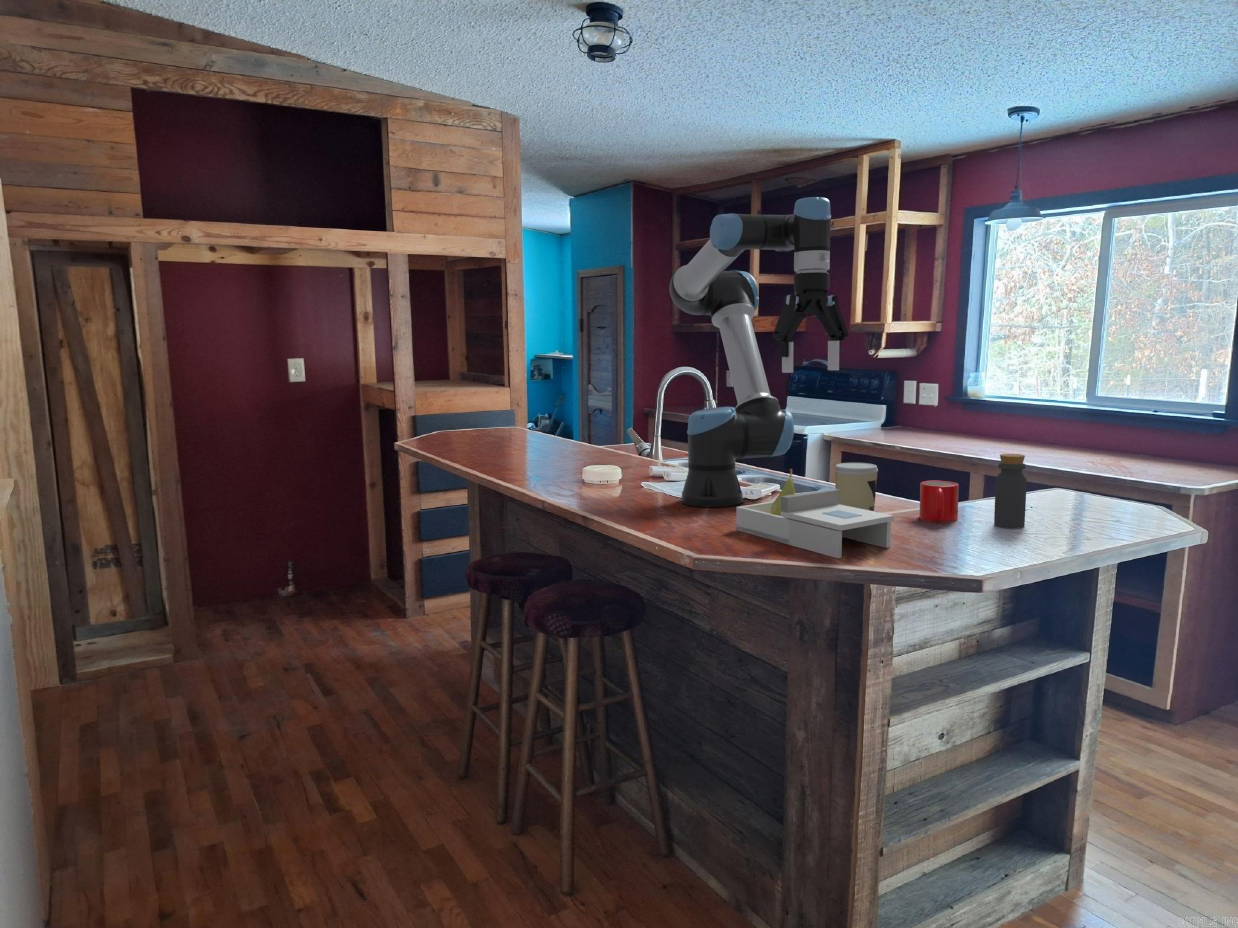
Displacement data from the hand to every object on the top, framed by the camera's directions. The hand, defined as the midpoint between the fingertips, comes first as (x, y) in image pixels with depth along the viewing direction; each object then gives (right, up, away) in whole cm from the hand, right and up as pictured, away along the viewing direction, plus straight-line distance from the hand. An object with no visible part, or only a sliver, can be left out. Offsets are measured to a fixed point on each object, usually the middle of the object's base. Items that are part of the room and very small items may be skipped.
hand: (810, 371), depth 184 cm
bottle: (+40, -33, -8) cm, 53 cm away
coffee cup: (+10, -33, +2) cm, 34 cm away
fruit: (-7, -34, -9) cm, 36 cm away
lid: (0, -31, -22) cm, 38 cm away
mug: (+28, -33, -1) cm, 43 cm away
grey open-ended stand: (-4, -35, -15) cm, 38 cm away
